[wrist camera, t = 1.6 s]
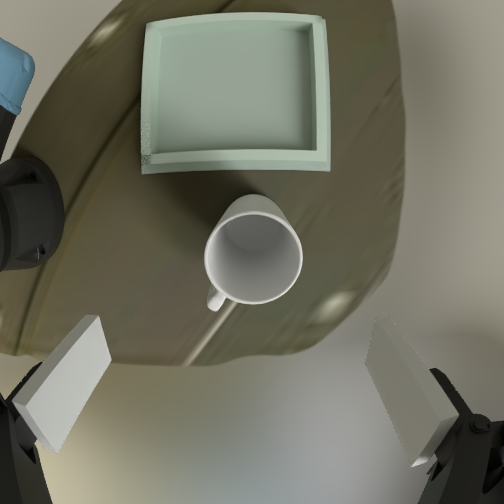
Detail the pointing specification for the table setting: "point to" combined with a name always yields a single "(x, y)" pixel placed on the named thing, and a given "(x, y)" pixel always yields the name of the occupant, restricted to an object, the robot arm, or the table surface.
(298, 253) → the mug
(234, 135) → the tray
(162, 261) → the table surface
